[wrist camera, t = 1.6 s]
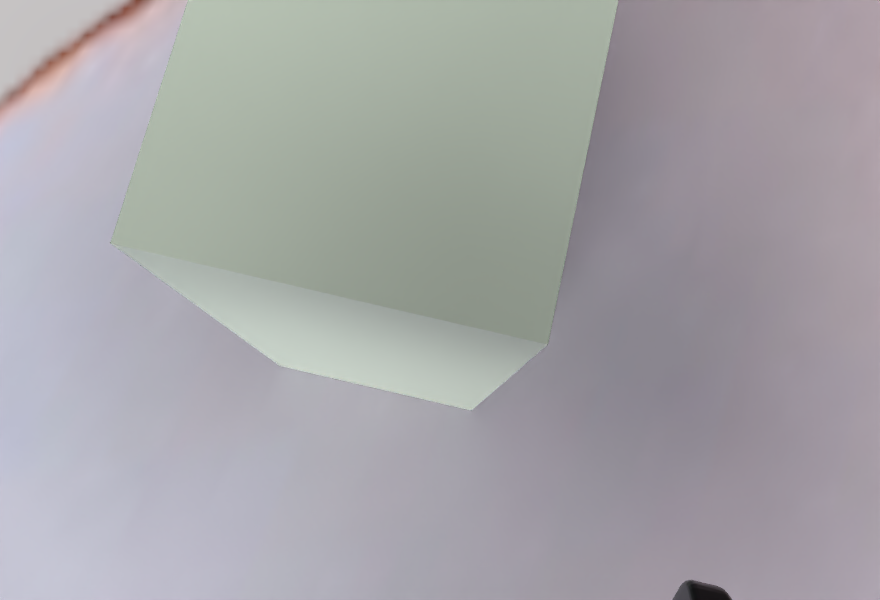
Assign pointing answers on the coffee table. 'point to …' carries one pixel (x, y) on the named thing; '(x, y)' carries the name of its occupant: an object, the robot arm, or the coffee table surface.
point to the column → (373, 181)
